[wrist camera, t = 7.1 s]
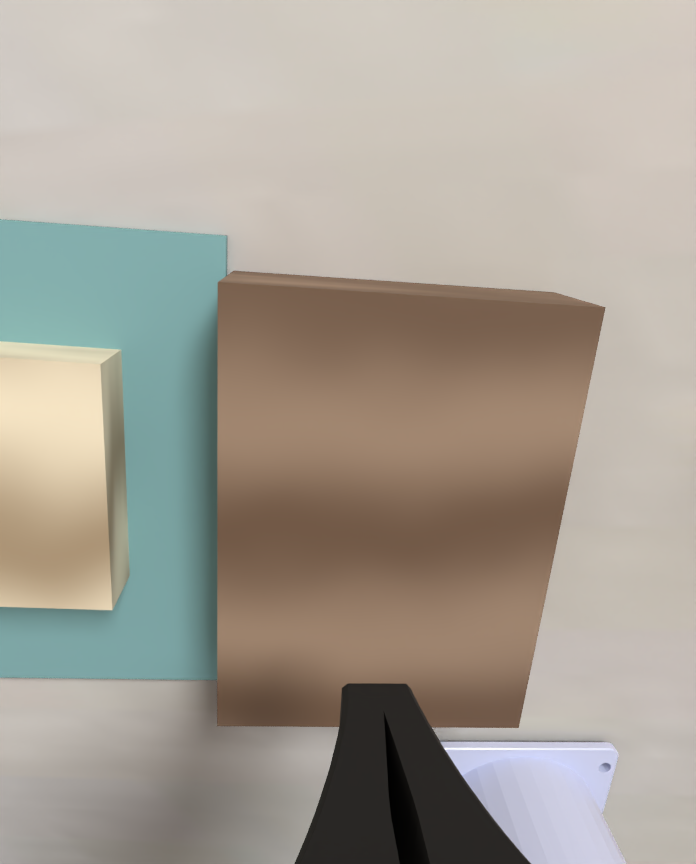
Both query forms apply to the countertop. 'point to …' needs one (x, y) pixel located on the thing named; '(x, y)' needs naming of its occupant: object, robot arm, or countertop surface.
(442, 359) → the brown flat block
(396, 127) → the countertop surface
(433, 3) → the countertop surface
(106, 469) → the maple block
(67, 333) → the mat
